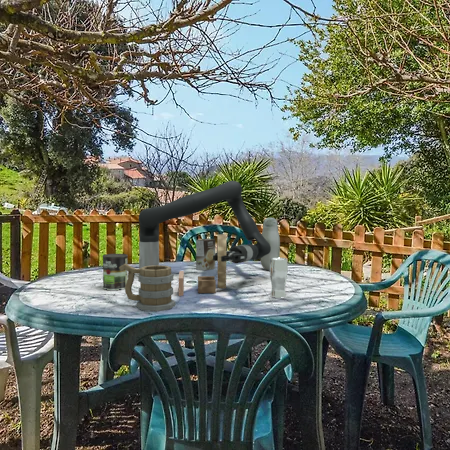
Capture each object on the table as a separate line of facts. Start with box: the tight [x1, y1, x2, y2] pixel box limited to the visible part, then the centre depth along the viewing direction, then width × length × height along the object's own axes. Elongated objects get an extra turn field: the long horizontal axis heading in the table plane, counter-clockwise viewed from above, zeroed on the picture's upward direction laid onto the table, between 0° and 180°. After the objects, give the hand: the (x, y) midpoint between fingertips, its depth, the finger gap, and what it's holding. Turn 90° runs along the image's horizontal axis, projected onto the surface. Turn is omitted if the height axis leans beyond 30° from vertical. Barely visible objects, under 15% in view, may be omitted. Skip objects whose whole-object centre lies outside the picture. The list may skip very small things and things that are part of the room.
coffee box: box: [195, 238, 216, 272], centre depth 226 cm, size 9×6×16 cm
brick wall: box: [178, 270, 185, 297], centre depth 174 cm, size 2×16×7 cm, turn 5°
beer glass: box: [269, 257, 289, 299], centre depth 165 cm, size 7×7×15 cm
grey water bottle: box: [260, 217, 281, 271], centre depth 223 cm, size 10×10×28 cm
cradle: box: [197, 275, 217, 294], centre depth 174 cm, size 7×9×5 cm
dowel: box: [216, 233, 227, 289], centre depth 174 cm, size 4×4×22 cm
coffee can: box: [102, 253, 128, 291], centre depth 179 cm, size 10×10×14 cm
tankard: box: [119, 263, 176, 312], centre depth 150 cm, size 20×13×15 cm, turn 77°
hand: (217, 258), depth 172 cm, fingers closed on dowel, 3 cm apart
